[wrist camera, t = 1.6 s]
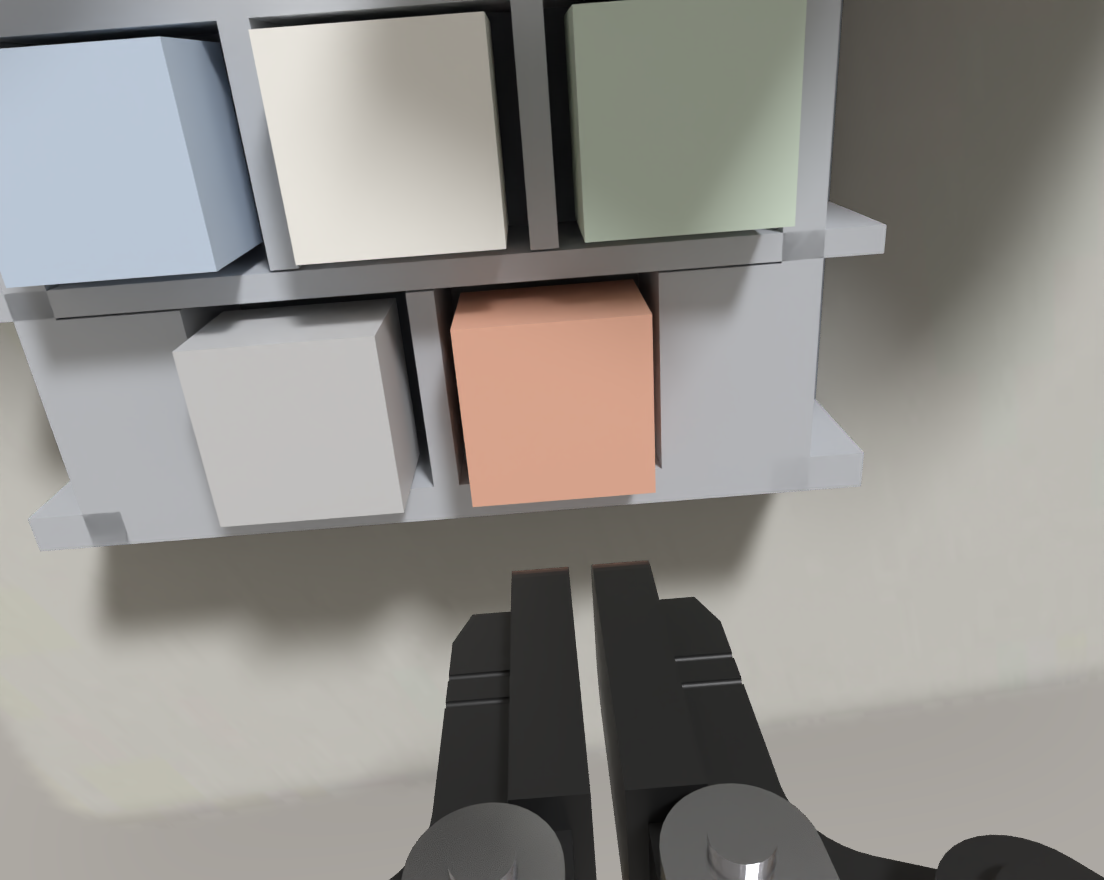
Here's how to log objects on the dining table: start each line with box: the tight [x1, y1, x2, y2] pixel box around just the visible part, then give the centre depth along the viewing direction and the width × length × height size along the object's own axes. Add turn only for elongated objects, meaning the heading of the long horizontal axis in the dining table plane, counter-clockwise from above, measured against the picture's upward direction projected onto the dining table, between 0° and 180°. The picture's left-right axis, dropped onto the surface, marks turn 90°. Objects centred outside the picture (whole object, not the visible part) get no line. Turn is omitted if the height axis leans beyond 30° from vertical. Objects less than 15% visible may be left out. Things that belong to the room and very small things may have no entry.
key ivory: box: [248, 11, 508, 265], centre depth 16 cm, size 4×4×3 cm
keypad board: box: [0, 0, 887, 551], centre depth 19 cm, size 20×14×4 cm
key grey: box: [172, 298, 420, 527], centre depth 18 cm, size 4×4×3 cm
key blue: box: [0, 36, 263, 288], centre depth 16 cm, size 4×4×3 cm
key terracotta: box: [450, 279, 656, 507], centre depth 18 cm, size 4×4×3 cm
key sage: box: [564, 0, 807, 243], centre depth 16 cm, size 4×4×3 cm
